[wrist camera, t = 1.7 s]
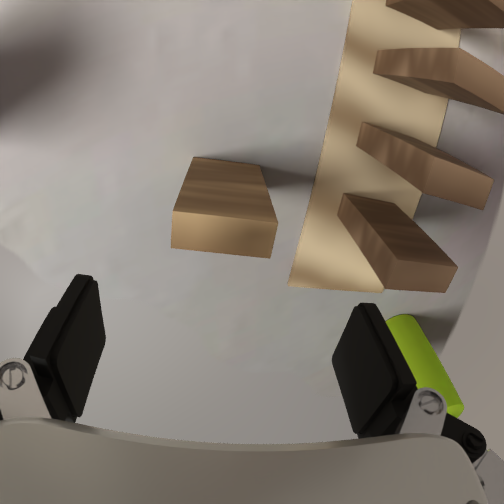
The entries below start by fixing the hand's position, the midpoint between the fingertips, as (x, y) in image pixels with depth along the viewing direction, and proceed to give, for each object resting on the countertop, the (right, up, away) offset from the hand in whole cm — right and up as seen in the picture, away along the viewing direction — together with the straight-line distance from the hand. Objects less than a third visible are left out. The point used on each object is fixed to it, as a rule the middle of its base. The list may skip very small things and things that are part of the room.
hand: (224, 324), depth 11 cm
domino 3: (+13, +16, +9) cm, 22 cm away
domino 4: (+12, +11, +12) cm, 20 cm away
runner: (+12, +11, +12) cm, 20 cm away
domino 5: (+11, +6, +15) cm, 19 cm away
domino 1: (-1, +8, +13) cm, 16 cm away
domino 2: (+14, +21, +6) cm, 26 cm away
